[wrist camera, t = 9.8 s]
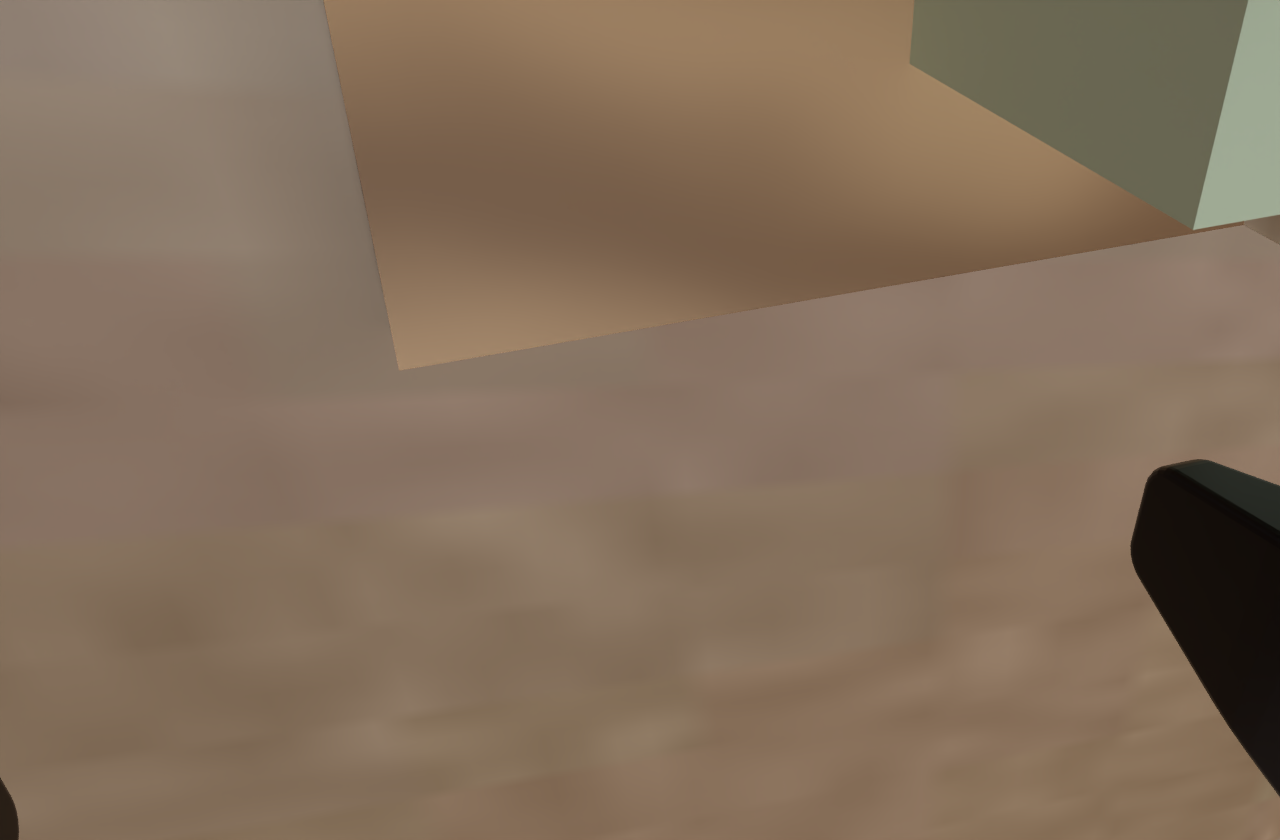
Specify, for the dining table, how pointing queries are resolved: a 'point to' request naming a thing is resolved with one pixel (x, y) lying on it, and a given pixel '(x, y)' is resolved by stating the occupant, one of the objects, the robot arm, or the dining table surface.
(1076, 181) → the wooden tray
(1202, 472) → the robot arm
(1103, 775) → the dining table surface
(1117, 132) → the tea box
